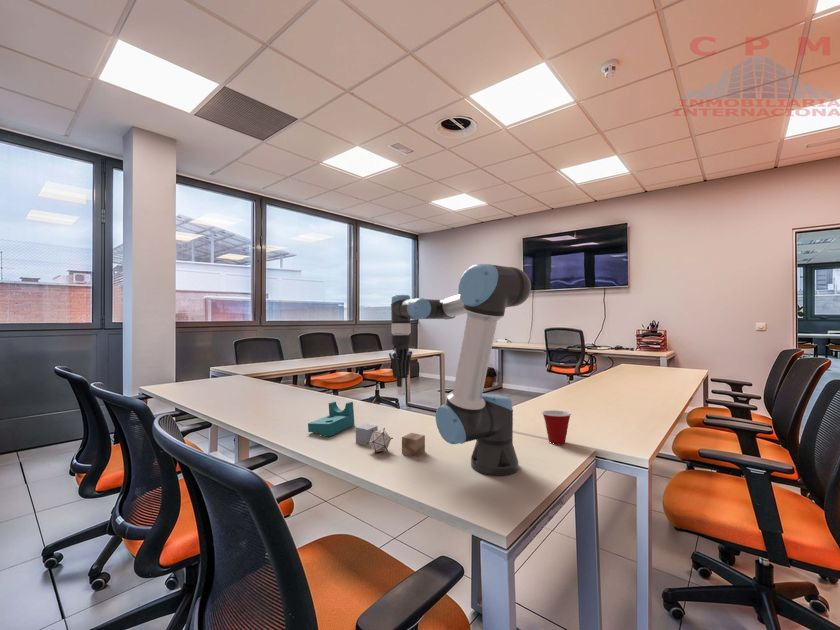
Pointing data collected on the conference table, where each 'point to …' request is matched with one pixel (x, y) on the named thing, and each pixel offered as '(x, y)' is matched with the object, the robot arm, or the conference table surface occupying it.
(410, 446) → the walnut block
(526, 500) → the conference table surface
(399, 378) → the robot arm
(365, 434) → the slate-grey block
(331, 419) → the teal l-shaped bracket
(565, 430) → the plastic cup
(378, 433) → the grey spiky polyhedron
